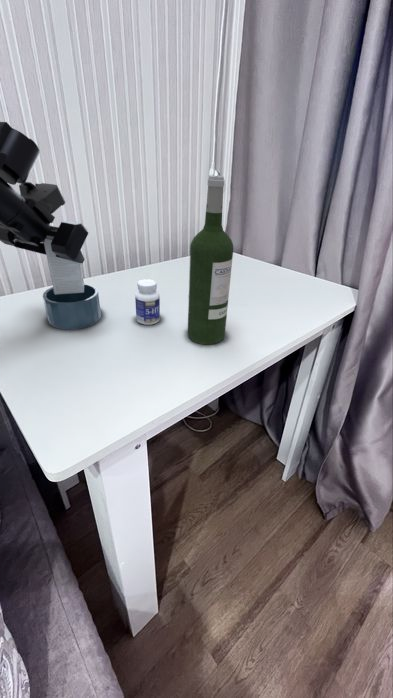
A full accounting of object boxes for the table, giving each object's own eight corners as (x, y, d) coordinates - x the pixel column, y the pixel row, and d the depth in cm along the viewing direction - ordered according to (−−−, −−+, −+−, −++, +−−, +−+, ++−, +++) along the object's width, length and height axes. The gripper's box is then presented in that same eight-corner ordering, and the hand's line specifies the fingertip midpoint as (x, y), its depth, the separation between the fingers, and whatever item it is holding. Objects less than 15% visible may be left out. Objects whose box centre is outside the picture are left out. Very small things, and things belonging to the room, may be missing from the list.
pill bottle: (147, 327, 72) (145, 289, 67) (131, 319, 75) (129, 282, 70) (164, 319, 75) (164, 282, 70) (149, 312, 78) (147, 276, 73)
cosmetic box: (84, 285, 73) (76, 229, 67) (84, 293, 70) (76, 234, 63) (55, 287, 72) (44, 230, 65) (53, 295, 68) (41, 235, 62)
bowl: (68, 335, 68) (63, 308, 65) (38, 318, 73) (32, 293, 70) (111, 316, 76) (108, 292, 72) (80, 302, 81) (77, 279, 78)
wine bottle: (220, 348, 66) (236, 180, 50) (182, 341, 68) (186, 177, 51) (227, 329, 73) (243, 176, 56) (193, 324, 74) (199, 173, 58)
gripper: (72, 171, 52) (121, 231, 66) (-7, 162, 59) (53, 218, 73) (41, 232, 50) (99, 280, 64) (-37, 216, 57) (31, 263, 71)
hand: (69, 258), depth 68 cm, fingers closed on cosmetic box, 7 cm apart
